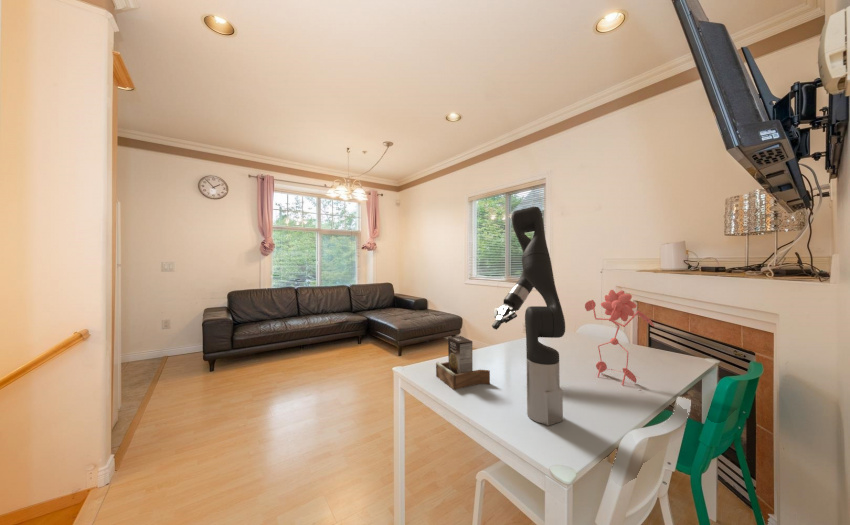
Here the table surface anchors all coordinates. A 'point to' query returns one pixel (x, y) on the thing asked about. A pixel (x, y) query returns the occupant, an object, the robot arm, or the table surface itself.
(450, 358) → the coffee box
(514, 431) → the table surface
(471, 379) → the bay
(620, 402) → the table surface
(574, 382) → the table surface
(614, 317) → the pink flower stick figure
